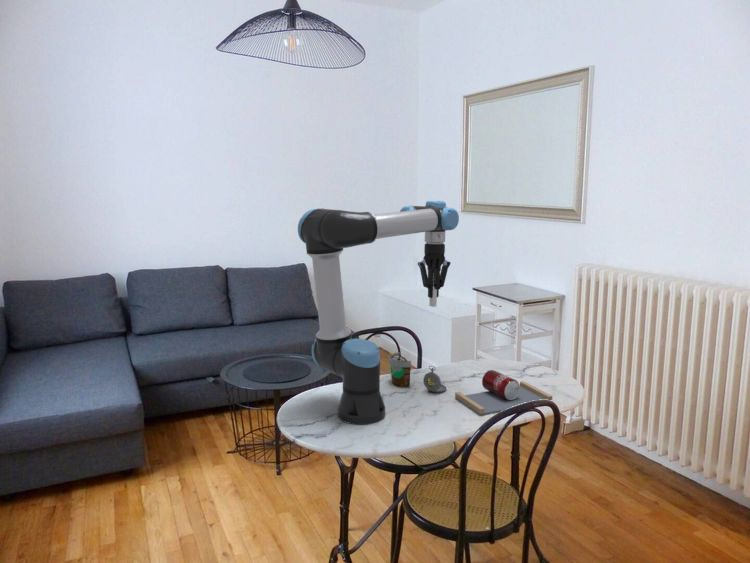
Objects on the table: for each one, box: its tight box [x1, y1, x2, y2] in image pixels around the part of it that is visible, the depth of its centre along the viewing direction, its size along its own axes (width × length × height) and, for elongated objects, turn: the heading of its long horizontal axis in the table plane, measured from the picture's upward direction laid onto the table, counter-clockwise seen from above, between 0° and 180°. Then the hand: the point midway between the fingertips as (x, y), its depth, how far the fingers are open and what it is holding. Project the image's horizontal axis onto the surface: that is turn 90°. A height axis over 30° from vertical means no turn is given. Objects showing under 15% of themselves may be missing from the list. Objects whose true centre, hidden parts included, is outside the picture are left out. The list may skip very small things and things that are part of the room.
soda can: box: [481, 369, 520, 400], centre depth 194 cm, size 7×7×12 cm
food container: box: [388, 352, 412, 388], centre depth 207 cm, size 12×6×10 cm, turn 17°
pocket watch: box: [423, 365, 447, 393], centre depth 199 cm, size 8×8×10 cm
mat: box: [454, 380, 553, 417], centre depth 191 cm, size 28×16×2 cm, turn 112°
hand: (432, 306), depth 212 cm, fingers closed
